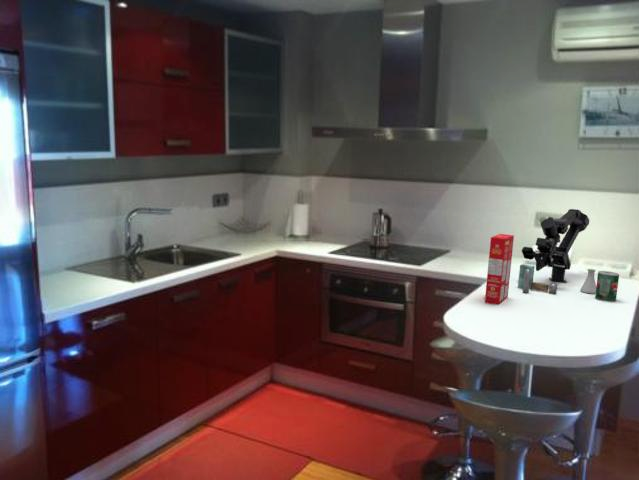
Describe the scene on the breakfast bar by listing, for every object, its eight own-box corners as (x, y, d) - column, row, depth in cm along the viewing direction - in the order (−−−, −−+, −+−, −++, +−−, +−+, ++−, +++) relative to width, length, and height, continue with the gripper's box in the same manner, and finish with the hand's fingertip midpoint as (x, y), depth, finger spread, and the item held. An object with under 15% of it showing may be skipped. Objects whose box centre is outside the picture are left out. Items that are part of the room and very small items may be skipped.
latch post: (522, 292, 249) (524, 268, 248) (528, 292, 249) (530, 269, 247) (523, 293, 247) (525, 269, 245) (529, 293, 246) (531, 270, 245)
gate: (548, 291, 252) (551, 268, 251) (546, 292, 249) (549, 269, 248) (520, 286, 259) (522, 264, 258) (517, 287, 256) (520, 265, 255)
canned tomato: (618, 302, 239) (621, 275, 238) (597, 300, 241) (600, 273, 239) (613, 298, 247) (616, 272, 245) (592, 296, 249) (595, 270, 247)
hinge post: (548, 292, 251) (549, 283, 251) (555, 293, 251) (556, 283, 250) (549, 294, 248) (550, 284, 248) (557, 294, 248) (558, 285, 247)
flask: (594, 291, 259) (597, 268, 258) (600, 294, 252) (603, 271, 251) (577, 289, 260) (580, 267, 259) (583, 293, 253) (585, 270, 251)
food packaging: (494, 295, 240) (500, 233, 237) (507, 297, 238) (513, 235, 234) (484, 302, 228) (490, 237, 224) (498, 304, 225) (505, 239, 221)
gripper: (525, 228, 267) (511, 255, 260) (567, 234, 254) (554, 262, 248) (531, 244, 274) (518, 271, 267) (572, 250, 261) (559, 278, 255)
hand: (536, 270), depth 259 cm, fingers closed
